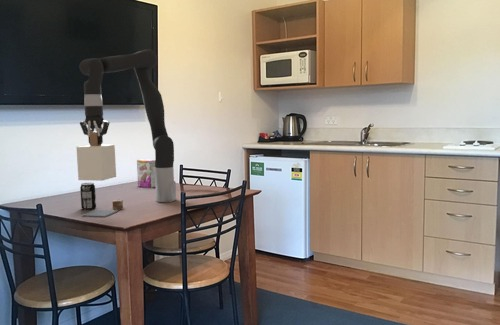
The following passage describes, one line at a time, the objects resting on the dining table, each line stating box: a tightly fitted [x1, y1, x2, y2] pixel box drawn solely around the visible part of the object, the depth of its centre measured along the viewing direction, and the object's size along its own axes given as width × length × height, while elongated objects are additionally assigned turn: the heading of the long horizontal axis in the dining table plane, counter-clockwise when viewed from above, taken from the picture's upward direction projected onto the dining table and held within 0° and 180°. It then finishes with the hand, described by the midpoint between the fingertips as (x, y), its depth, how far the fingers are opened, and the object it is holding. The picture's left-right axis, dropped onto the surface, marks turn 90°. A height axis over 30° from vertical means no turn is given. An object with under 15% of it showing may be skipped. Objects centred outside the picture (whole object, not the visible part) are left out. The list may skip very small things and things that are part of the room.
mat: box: [82, 209, 119, 218], centre depth 207 cm, size 11×11×1 cm
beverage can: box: [79, 182, 97, 211], centre depth 218 cm, size 7×7×12 cm
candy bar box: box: [136, 158, 156, 189], centre depth 279 cm, size 11×5×16 cm, turn 58°
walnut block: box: [112, 199, 124, 211], centre depth 218 cm, size 4×4×4 cm
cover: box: [75, 131, 117, 182], centre depth 205 cm, size 12×12×21 cm
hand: (95, 144), depth 204 cm, fingers closed on cover, 3 cm apart
